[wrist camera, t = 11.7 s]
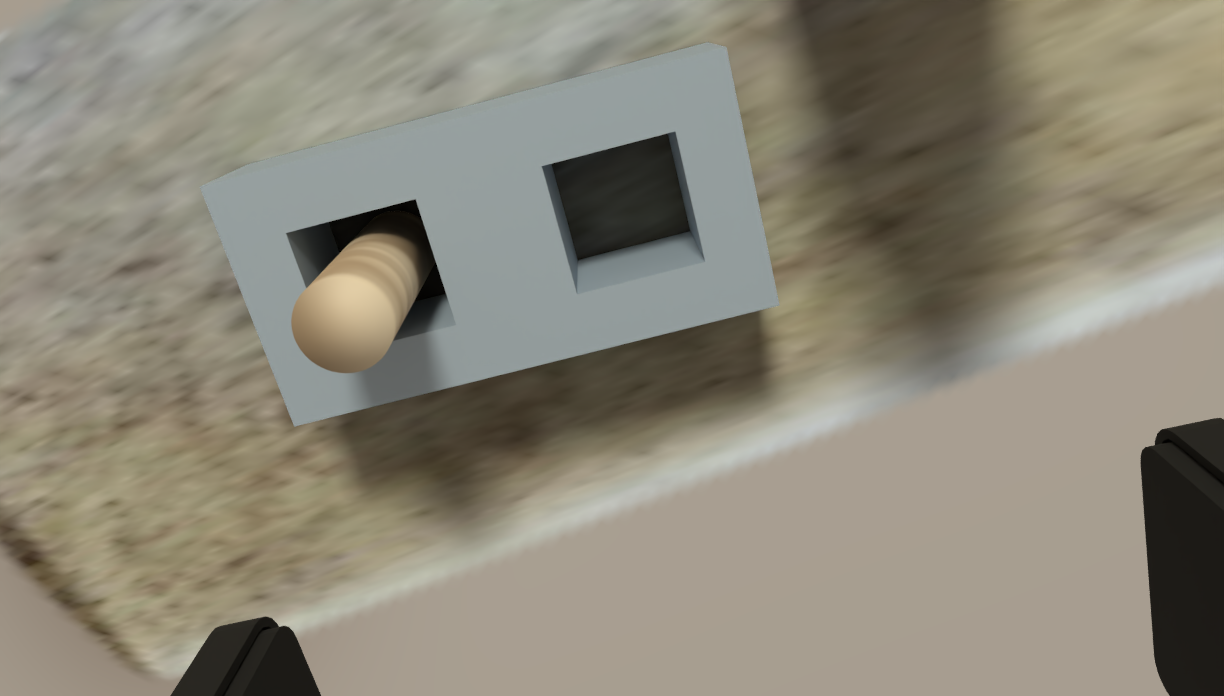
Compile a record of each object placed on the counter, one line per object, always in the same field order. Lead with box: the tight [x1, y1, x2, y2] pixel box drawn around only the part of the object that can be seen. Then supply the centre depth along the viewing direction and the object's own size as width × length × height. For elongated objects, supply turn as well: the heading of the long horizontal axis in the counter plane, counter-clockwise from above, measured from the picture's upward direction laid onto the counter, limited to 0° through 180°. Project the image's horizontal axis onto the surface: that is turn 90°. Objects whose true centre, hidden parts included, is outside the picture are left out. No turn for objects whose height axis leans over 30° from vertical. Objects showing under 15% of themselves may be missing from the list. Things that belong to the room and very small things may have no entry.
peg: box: [291, 211, 435, 373], centre depth 34 cm, size 3×3×10 cm
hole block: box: [200, 42, 779, 426], centre depth 36 cm, size 18×9×5 cm, turn 104°
